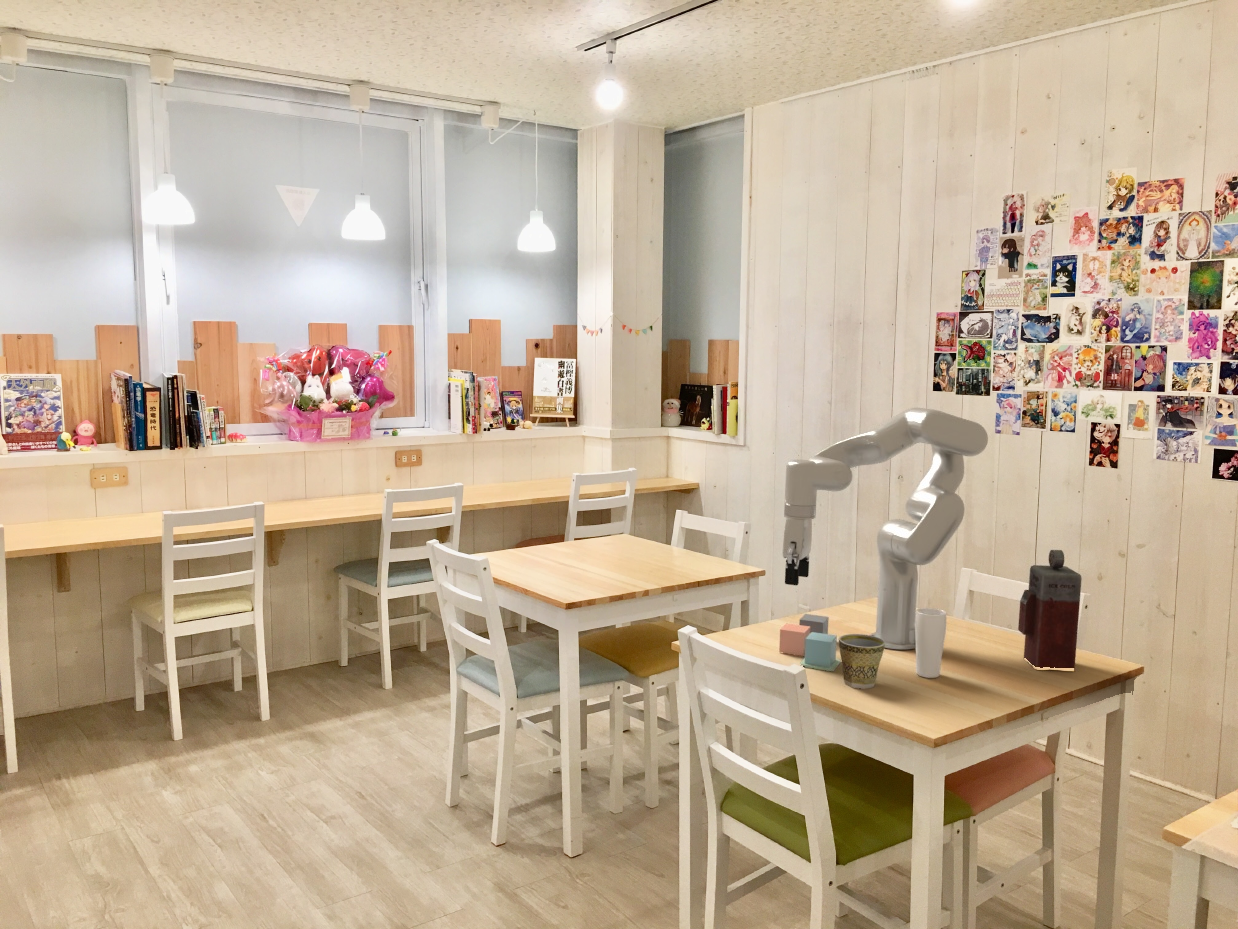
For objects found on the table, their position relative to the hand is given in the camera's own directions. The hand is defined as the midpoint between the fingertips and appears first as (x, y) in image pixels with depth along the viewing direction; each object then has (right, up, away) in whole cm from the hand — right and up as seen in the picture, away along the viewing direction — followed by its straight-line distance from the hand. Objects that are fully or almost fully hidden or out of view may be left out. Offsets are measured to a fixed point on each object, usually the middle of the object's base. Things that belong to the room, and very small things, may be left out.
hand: (796, 580), depth 242 cm
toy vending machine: (+58, -20, -5) cm, 62 cm away
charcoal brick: (+6, -17, +11) cm, 21 cm away
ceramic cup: (+11, -21, -19) cm, 30 cm away
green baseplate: (+4, -19, -7) cm, 21 cm away
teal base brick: (+4, -18, -8) cm, 20 cm away
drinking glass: (+28, -20, -14) cm, 37 cm away
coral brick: (0, -18, +2) cm, 18 cm away
